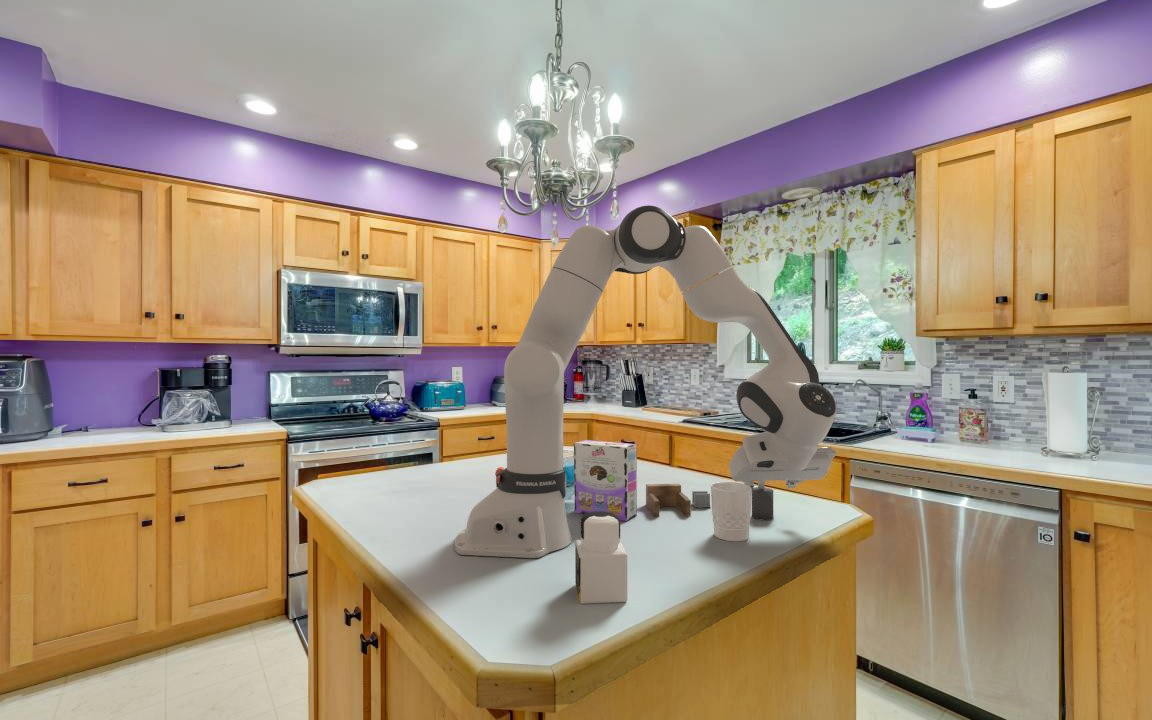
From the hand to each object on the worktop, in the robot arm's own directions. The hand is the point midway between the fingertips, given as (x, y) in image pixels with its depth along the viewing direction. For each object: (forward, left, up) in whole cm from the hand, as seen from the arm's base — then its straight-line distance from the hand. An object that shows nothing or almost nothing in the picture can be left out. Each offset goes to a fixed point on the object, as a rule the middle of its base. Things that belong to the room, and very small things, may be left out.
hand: (768, 485), depth 117 cm
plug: (0, +3, -8) cm, 8 cm away
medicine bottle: (-41, -33, -8) cm, 53 cm away
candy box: (-35, +8, -8) cm, 37 cm away
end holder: (-20, +9, -8) cm, 23 cm away
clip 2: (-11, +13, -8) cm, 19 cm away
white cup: (-12, -9, -8) cm, 17 cm away
